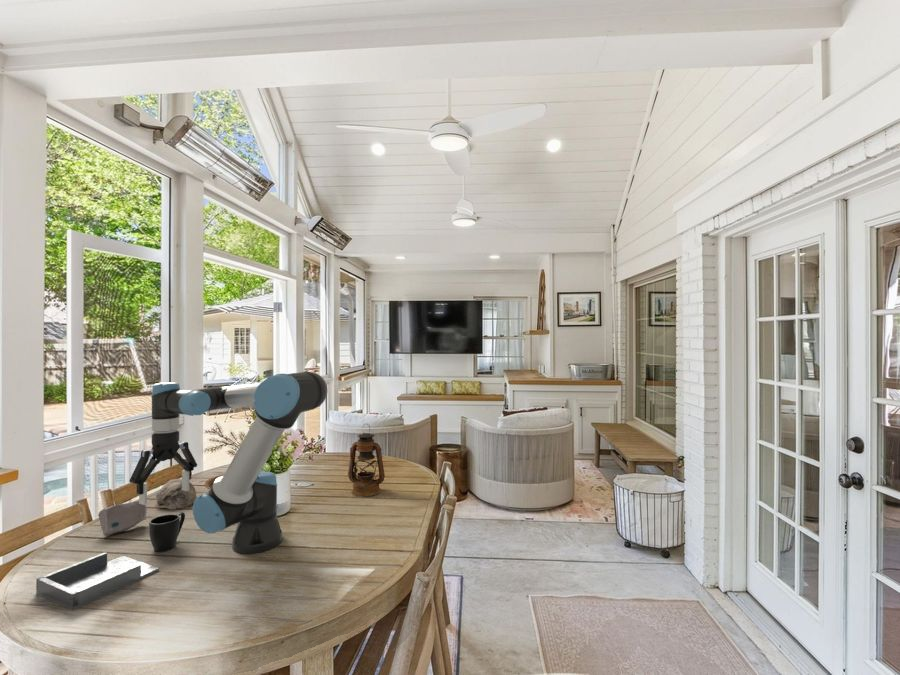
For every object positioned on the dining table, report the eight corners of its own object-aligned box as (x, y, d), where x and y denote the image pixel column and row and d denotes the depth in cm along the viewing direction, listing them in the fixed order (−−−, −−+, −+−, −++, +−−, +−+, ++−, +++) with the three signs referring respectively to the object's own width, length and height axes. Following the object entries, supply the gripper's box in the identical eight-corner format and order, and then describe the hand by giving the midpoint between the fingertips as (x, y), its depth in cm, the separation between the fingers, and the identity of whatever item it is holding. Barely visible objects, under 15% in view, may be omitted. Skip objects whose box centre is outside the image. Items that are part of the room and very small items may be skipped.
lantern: (389, 488, 201) (389, 421, 201) (379, 498, 189) (379, 426, 189) (353, 485, 204) (353, 420, 204) (341, 495, 192) (341, 425, 192)
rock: (200, 497, 189) (200, 474, 189) (194, 508, 178) (194, 482, 178) (159, 502, 185) (160, 477, 185) (150, 512, 173) (150, 486, 173)
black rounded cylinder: (194, 539, 150) (194, 510, 150) (164, 556, 138) (164, 525, 138) (173, 536, 152) (173, 508, 152) (142, 553, 140) (142, 523, 140)
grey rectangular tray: (159, 571, 129) (159, 556, 129) (72, 611, 110) (72, 594, 110) (123, 559, 136) (123, 545, 136) (36, 594, 117) (36, 578, 117)
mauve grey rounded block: (101, 538, 153) (103, 537, 149) (97, 510, 154) (99, 508, 150) (147, 523, 162) (150, 522, 158) (143, 497, 164) (146, 495, 160)
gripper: (194, 423, 157) (194, 483, 157) (116, 437, 134) (115, 508, 134) (208, 425, 153) (208, 486, 153) (131, 439, 131) (130, 512, 131)
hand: (165, 497), depth 144 cm, fingers open, 13 cm apart
